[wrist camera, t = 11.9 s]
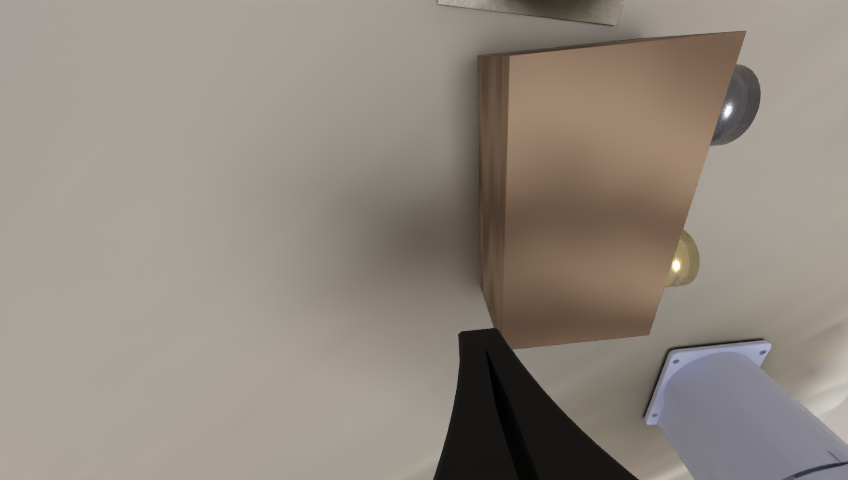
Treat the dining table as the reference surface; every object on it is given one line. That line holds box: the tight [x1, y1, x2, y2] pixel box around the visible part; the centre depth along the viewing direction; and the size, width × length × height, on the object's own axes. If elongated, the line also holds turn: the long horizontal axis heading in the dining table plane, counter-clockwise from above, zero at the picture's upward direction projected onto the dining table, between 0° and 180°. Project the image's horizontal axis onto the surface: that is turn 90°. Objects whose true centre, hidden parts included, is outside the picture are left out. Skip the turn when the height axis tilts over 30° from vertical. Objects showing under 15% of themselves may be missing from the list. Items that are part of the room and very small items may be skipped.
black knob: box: [710, 64, 761, 146], centre depth 15 cm, size 3×9×3 cm, turn 95°
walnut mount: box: [478, 31, 746, 349], centre depth 17 cm, size 14×8×6 cm, turn 5°
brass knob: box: [664, 230, 699, 288], centre depth 19 cm, size 3×9×3 cm, turn 95°
